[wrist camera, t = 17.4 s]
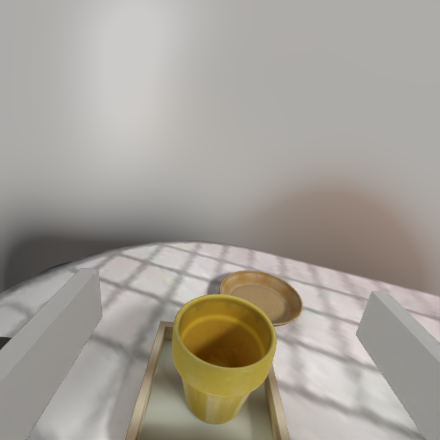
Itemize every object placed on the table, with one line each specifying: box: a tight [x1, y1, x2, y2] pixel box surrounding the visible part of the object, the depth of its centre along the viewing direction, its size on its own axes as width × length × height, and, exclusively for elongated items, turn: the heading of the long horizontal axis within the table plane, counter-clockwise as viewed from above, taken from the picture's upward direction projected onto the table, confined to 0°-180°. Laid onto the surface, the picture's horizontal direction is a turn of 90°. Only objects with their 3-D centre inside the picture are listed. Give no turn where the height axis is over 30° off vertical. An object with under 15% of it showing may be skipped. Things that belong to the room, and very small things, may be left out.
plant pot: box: [172, 294, 277, 425], centre depth 26 cm, size 10×10×10 cm
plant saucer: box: [220, 271, 303, 327], centre depth 44 cm, size 15×15×3 cm
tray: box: [125, 321, 290, 440], centre depth 28 cm, size 15×15×3 cm
